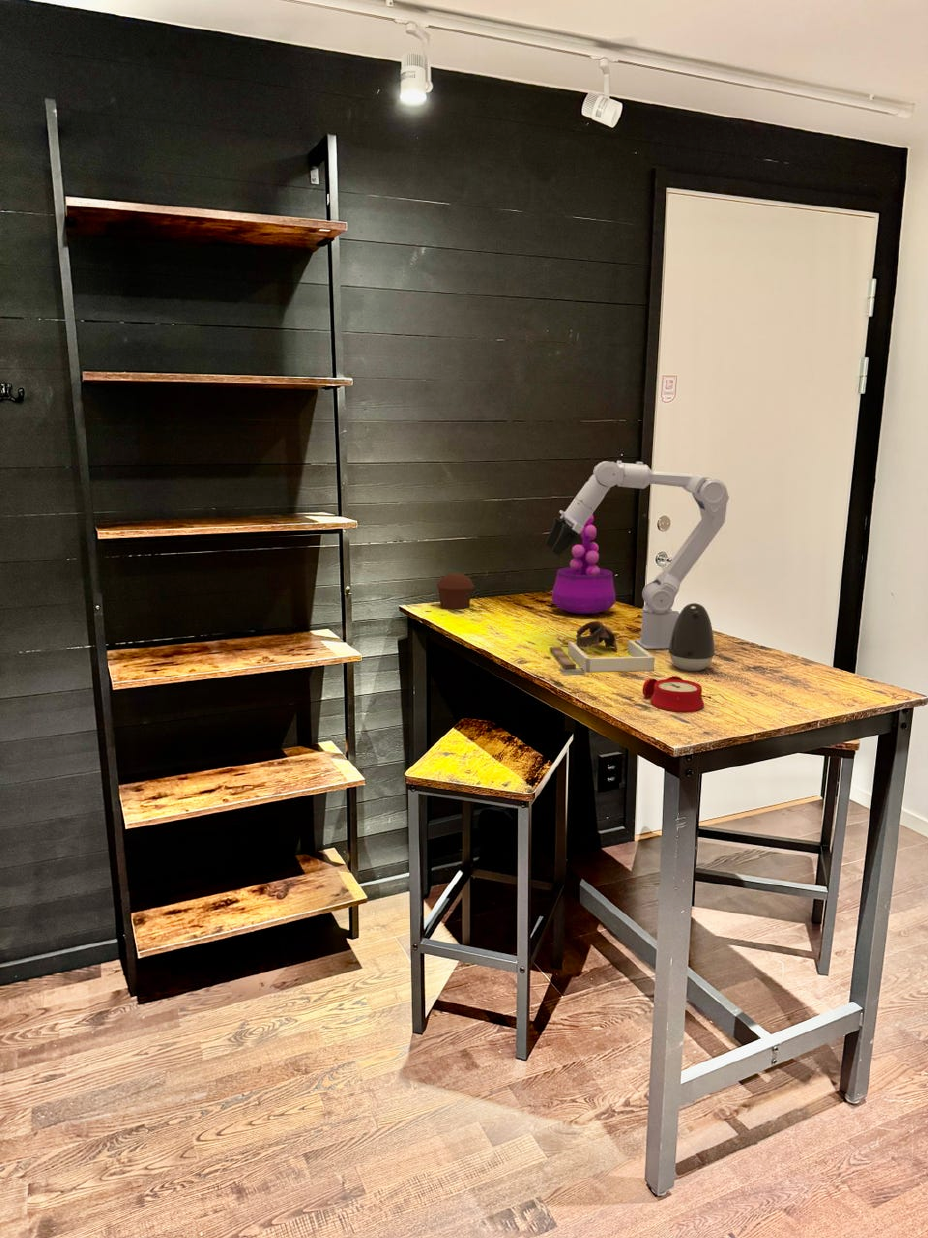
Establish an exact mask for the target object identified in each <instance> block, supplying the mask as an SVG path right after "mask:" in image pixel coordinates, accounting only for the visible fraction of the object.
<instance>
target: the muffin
mask: <svg viewBox="0 0 928 1238" xmlns="http://www.w3.org/2000/svg"><path fill="white" fill-rule="evenodd" d="M436 588H437V591H438V597H439V605H440V608H441V609H444V610H453V611H459V610H467V609H469V608H470V603H471V597H472V591H473V589H474V588H475V585H474V583H473V581H472V580H471V579H470V578H469V577H468V576H466V575H465V574H461V573H454V572H453V573H448V574H446V575H445V574H444V576H442V577H440V579H439V580H438V582H437V583H436Z"/></svg>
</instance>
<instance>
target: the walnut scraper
mask: <svg viewBox="0 0 928 1238" xmlns="http://www.w3.org/2000/svg"><path fill="white" fill-rule="evenodd" d="M550 652H551V653H550ZM549 653H550V654H551V656H553V658H554V657H555V658H554V659H555V660H556V662H558V664H559V665H560V666H561V667H560V668H558V670H559V672H560V671H561V672H560V673H561V675H563V676H585V675H587V674H586V672H585V671H584V670H583V669H582V668H581V667H577V665H576V664H577V663H576V662H574V660H572V658H571V657H570V655H569V654H568V653H566V652H565V651H564V650H563V648H562V647H561V646H550V647H549Z"/></svg>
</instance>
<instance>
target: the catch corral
mask: <svg viewBox="0 0 928 1238" xmlns="http://www.w3.org/2000/svg"><path fill="white" fill-rule="evenodd" d="M627 643H628V645H627V653H628V654H629V655H630V656H622V657H621V656H614V657H609V656H607V657H589V656H588V655H587V654H586V653H585V652H584V651H583V650H582V649H581V647H580V648H579V647H578V646H577V645H576V643H574V642H573V641H568V644H567V646H568V648H567V649H568V650H567V655H568V656H569V657H570V658H571V659H573V661H575V662H574V663H575V664H577V665H578V666H579V668H580V669H581V670H582V671H583V672H584V673H601V672H602V673H604V672H640V671H641V672H642V671H644V672H647V671H655V661H656V657H655V656H654V655H652V654H651V653H649V652H648V651H647V649H644V648H643V647H642V646H640V645H639V644H638V643H636V642H635V640H630V639H629V640H628V642H627Z"/></svg>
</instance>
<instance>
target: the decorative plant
mask: <svg viewBox="0 0 928 1238" xmlns="http://www.w3.org/2000/svg"><path fill="white" fill-rule="evenodd" d="M594 519H595V517H594V514H592V515H591V516H590V518H589V519H588V520H587V522H586V523H585V524H584V528H583V530H582V531H581V532H580V534H579V535H580V536H581V537H582V544H575V545H573V546H572V548H571V554H572V556H573V559H571V560H570V562H569V566H570V567H569V566H568V567H562V568H559V569H557V572H556V577H555V582H554V585H553V587H552V590H551V591H552V593H551V601H552V603H553V604H554V605H555V606H556V607H557V608H558V609H560V610H562V611H565V612H568V613H571V614H576V615H577V614H578V615H594V614H598V613H603V612H605V611H608V610H610V609H611V608H612V607H613V605H615V603H616V591H615V587H614V580H613V572H612V571H611V570H609V569H605V568H601V567H599V566H598V565H597V563H598V561H599V559H600V554H599V548H600V547H599V545H598V543H596V542H595V541H592V540H594V539H595V538H597V537H596V536H597V528H596V526H595V525H594V524H593V522H594ZM590 541H592V542H590Z"/></svg>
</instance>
